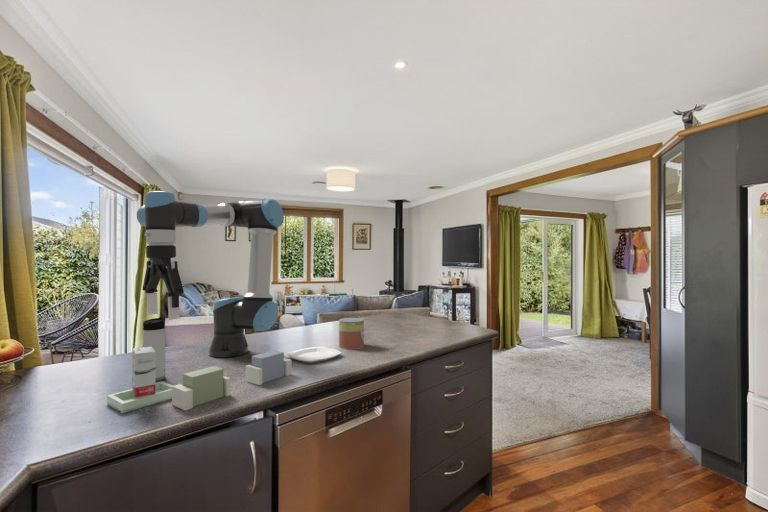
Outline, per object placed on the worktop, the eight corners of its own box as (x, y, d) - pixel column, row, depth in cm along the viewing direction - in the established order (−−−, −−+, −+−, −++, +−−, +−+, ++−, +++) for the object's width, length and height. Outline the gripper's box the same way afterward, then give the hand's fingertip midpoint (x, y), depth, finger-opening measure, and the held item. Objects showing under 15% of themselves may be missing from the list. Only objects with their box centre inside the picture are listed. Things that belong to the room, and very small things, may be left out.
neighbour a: (182, 402, 101) (182, 373, 101) (213, 392, 109) (213, 366, 109) (192, 407, 98) (192, 377, 98) (223, 396, 106) (223, 368, 106)
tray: (107, 404, 100) (107, 395, 100) (162, 389, 111) (162, 381, 111) (122, 413, 94) (122, 403, 94) (178, 396, 106) (178, 387, 106)
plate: (348, 357, 148) (348, 352, 148) (308, 368, 134) (308, 362, 134) (319, 349, 161) (319, 344, 161) (280, 358, 147) (280, 353, 147)
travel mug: (170, 377, 123) (170, 317, 123) (152, 383, 117) (152, 320, 117) (156, 375, 125) (156, 316, 125) (138, 381, 119) (138, 319, 119)
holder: (172, 404, 100) (172, 386, 100) (278, 370, 129) (278, 356, 129) (185, 410, 96) (185, 391, 96) (291, 374, 125) (291, 359, 125)
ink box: (156, 393, 101) (156, 351, 101) (134, 398, 98) (134, 354, 98) (151, 385, 108) (151, 345, 108) (131, 389, 104) (131, 348, 104)
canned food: (363, 349, 159) (363, 321, 159) (337, 349, 159) (337, 321, 159) (364, 343, 170) (364, 317, 170) (340, 343, 170) (340, 317, 170)
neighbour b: (251, 380, 119) (251, 356, 119) (274, 373, 127) (274, 350, 127) (261, 383, 116) (261, 358, 116) (283, 376, 124) (283, 352, 124)
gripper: (128, 245, 112) (130, 314, 112) (168, 244, 97) (169, 323, 98) (155, 245, 118) (157, 310, 118) (196, 244, 103) (197, 318, 104)
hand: (162, 316), depth 108 cm, fingers open, 13 cm apart
